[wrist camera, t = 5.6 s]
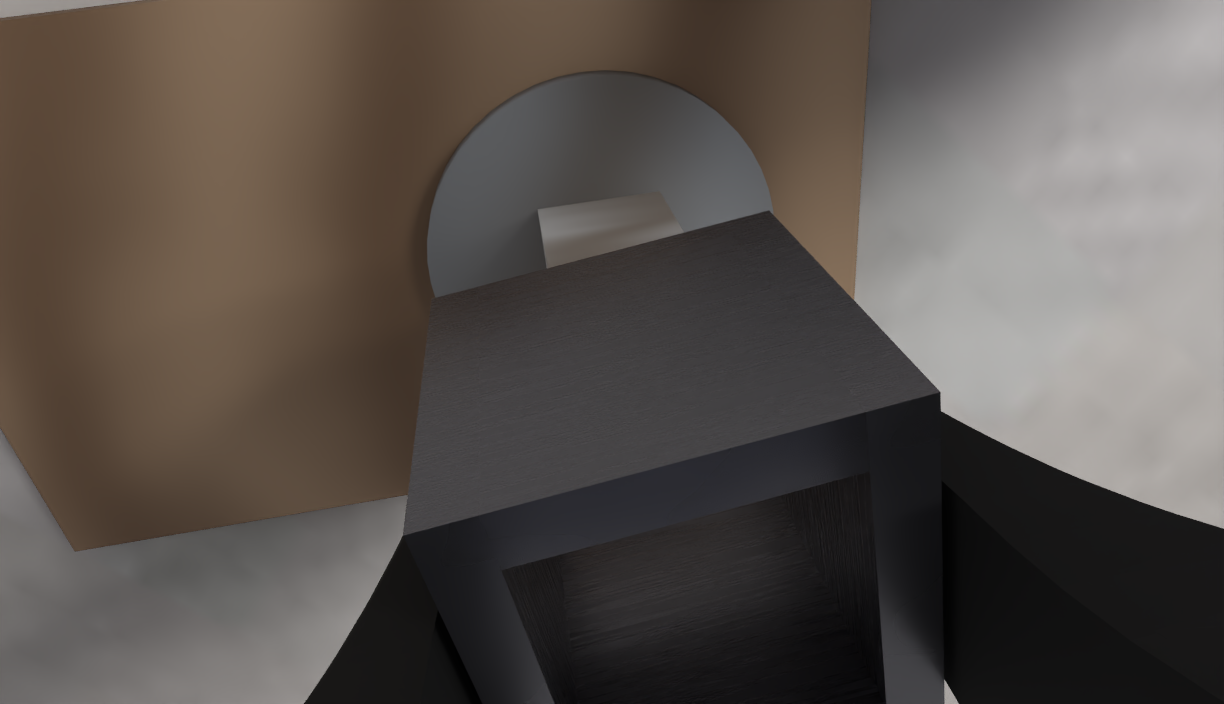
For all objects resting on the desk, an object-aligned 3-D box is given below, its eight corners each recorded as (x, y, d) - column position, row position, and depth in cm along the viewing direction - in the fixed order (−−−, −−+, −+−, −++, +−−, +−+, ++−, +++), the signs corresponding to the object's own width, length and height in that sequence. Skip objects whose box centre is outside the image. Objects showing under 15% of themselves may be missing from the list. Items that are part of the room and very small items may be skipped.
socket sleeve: (769, 210, 12) (939, 391, 7) (802, 475, 14) (945, 728, 10) (432, 298, 12) (403, 535, 7) (524, 549, 14) (545, 836, 10)
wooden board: (851, -90, 17) (985, -81, 12) (830, 395, 23) (914, 517, 18) (-180, 38, 15) (-447, 100, 11) (94, 519, 21) (-6, 683, 17)
